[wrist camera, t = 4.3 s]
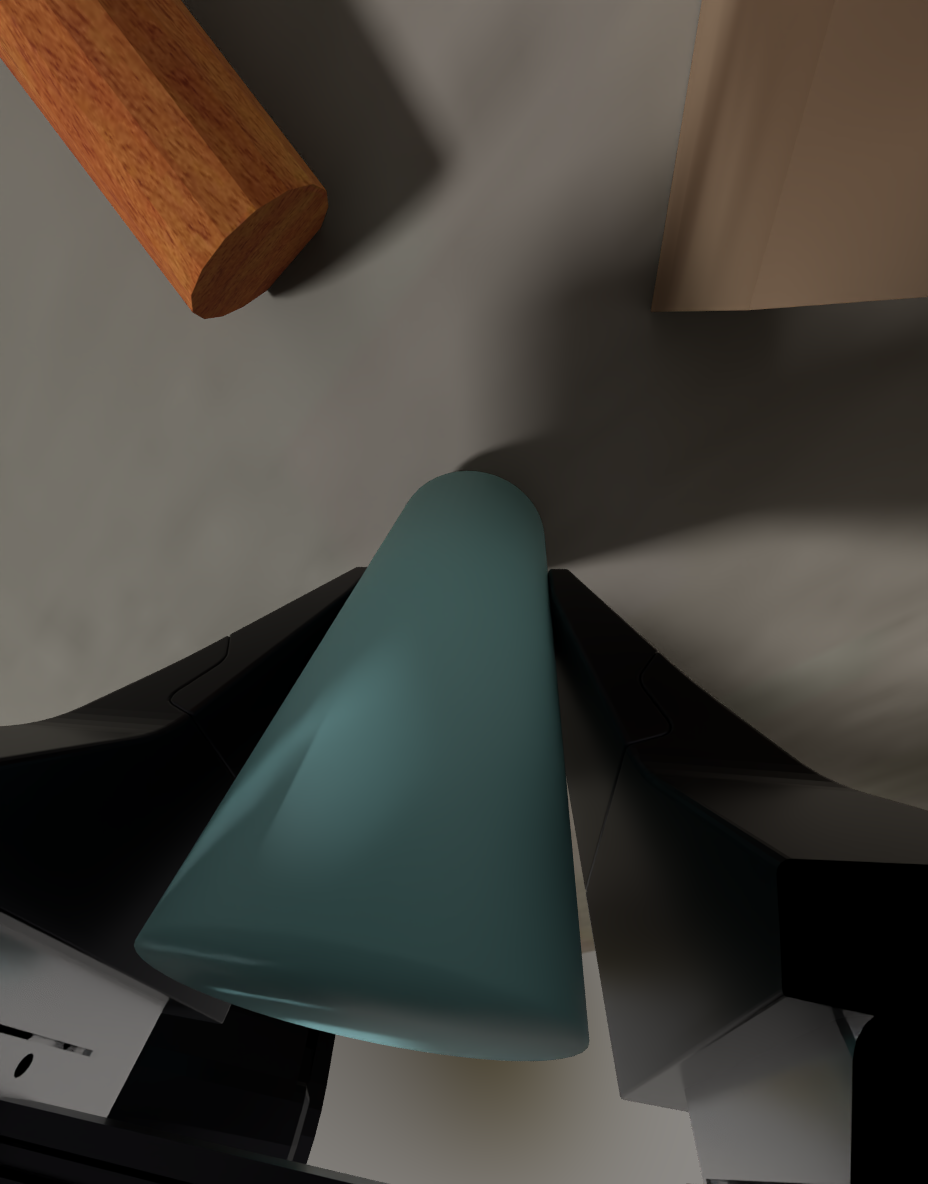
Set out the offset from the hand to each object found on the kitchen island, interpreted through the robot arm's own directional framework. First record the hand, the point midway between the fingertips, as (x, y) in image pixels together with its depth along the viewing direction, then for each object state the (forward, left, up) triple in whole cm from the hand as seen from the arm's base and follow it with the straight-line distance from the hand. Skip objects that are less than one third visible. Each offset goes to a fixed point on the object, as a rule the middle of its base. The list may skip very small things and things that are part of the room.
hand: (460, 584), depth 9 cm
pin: (0, 0, -2) cm, 2 cm away
